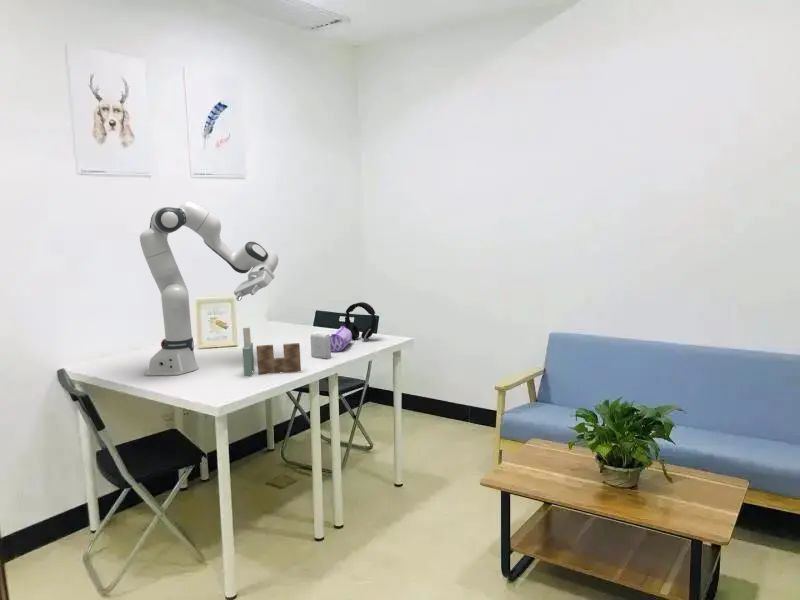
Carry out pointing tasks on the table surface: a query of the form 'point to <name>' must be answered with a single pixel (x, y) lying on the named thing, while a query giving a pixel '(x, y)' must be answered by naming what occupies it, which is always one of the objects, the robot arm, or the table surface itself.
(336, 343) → the pencil case
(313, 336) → the photo printer
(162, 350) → the robot arm
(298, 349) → the walnut slotted board
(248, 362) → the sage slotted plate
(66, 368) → the table surface
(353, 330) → the headphones
